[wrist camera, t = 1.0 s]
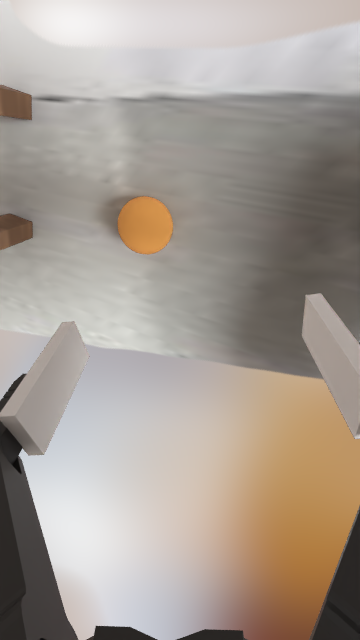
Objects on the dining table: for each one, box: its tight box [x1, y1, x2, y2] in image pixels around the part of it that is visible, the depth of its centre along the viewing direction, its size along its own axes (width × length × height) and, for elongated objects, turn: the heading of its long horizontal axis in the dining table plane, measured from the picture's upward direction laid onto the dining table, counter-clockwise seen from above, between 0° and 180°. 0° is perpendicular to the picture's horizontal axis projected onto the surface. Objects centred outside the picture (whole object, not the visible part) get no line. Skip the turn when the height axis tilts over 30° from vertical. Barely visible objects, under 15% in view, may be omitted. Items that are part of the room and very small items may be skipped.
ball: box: [118, 196, 173, 254], centre depth 28 cm, size 6×6×6 cm
